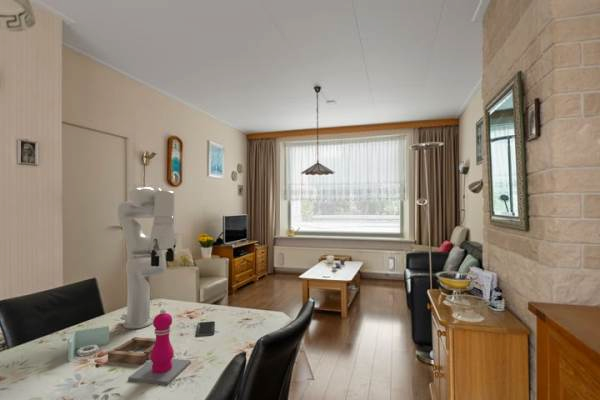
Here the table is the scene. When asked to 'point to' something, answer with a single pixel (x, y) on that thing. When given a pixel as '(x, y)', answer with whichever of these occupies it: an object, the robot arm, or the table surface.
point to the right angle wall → (88, 340)
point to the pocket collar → (125, 356)
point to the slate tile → (159, 378)
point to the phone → (205, 329)
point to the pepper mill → (162, 343)
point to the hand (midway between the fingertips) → (162, 263)
